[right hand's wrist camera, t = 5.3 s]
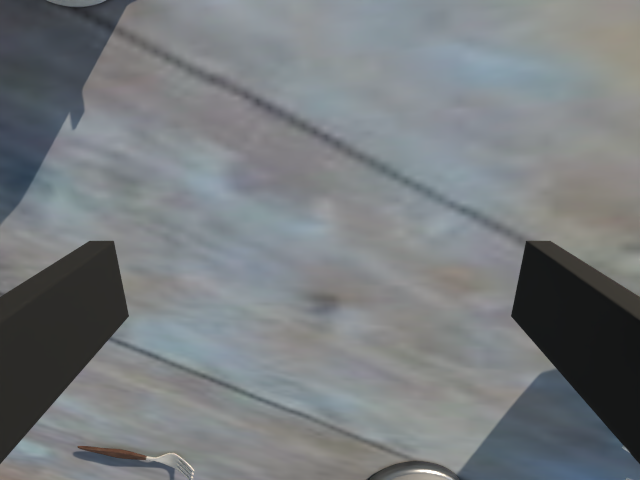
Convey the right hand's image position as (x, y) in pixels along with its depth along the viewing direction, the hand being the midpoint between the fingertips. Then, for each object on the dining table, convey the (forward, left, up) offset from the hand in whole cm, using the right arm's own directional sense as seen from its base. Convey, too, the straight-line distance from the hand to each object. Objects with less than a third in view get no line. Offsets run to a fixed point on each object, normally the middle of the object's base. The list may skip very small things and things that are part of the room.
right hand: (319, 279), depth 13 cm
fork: (-40, +25, -28) cm, 55 cm away
